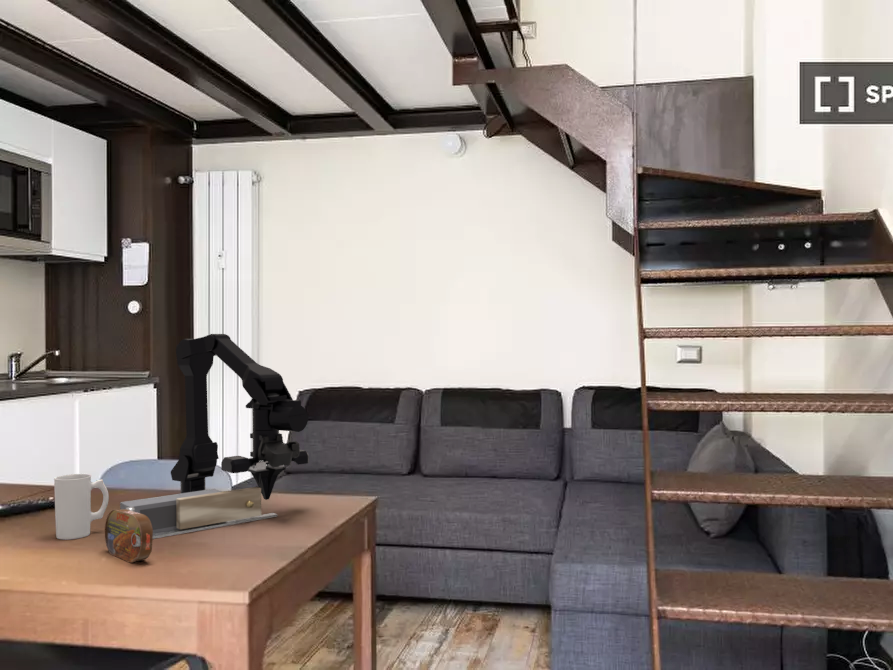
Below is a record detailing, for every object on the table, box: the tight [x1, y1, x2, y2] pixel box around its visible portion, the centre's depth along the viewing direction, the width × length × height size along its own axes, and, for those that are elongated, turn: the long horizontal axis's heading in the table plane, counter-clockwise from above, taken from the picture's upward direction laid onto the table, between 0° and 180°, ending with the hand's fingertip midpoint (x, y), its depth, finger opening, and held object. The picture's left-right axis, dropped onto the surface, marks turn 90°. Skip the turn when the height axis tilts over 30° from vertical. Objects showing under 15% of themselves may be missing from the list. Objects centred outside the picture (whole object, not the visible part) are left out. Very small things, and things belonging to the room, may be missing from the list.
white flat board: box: [126, 507, 278, 540], centre depth 159 cm, size 2×32×7 cm, turn 130°
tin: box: [104, 509, 154, 564], centre depth 139 cm, size 15×3×8 cm, turn 47°
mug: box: [53, 473, 110, 541], centre depth 155 cm, size 10×7×12 cm, turn 119°
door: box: [176, 486, 262, 530], centre depth 161 cm, size 3×18×6 cm, turn 130°
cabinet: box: [119, 488, 223, 534], centre depth 159 cm, size 6×20×6 cm, turn 130°
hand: (266, 499), depth 168 cm, fingers closed
